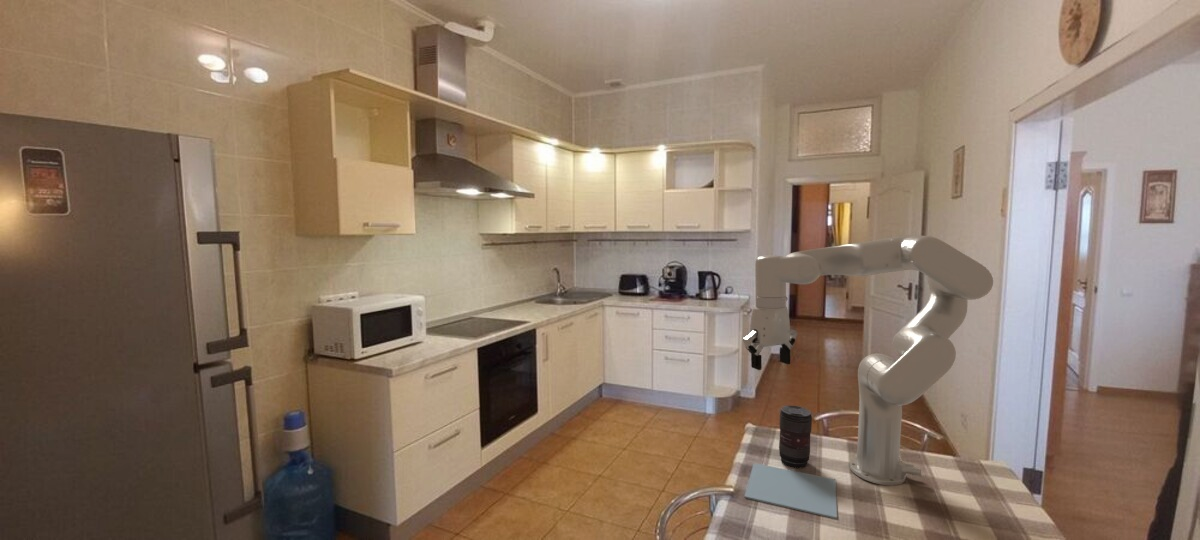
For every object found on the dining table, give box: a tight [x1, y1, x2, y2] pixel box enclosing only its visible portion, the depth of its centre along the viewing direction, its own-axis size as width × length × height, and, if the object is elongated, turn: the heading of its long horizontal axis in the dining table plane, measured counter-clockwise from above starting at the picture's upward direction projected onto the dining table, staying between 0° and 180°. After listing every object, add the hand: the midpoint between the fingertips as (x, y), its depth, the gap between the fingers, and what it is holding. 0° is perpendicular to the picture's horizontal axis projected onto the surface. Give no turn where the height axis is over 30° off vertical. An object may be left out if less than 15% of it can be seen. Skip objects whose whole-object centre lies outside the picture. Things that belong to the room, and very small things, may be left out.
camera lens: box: [778, 404, 813, 469], centre depth 129 cm, size 8×8×15 cm
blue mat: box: [743, 462, 838, 520], centre depth 117 cm, size 20×17×1 cm
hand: (770, 365), depth 125 cm, fingers open, 9 cm apart
